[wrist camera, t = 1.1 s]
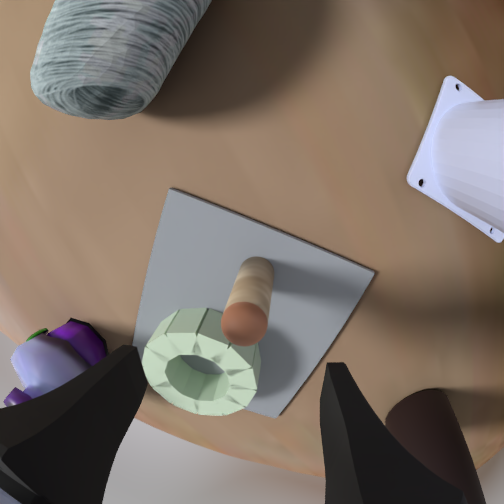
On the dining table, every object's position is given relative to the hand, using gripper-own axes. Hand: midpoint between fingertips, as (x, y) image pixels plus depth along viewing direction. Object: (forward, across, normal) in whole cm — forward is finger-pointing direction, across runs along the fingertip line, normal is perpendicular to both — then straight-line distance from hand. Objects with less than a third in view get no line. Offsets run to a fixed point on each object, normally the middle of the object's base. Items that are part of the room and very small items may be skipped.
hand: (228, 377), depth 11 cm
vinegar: (+10, -16, +15) cm, 24 cm away
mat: (+10, +2, +5) cm, 11 cm away
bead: (+10, +4, +7) cm, 12 cm away
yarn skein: (+10, +6, -16) cm, 20 cm away
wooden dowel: (+10, 0, 0) cm, 10 cm away
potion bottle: (+10, +16, +9) cm, 21 cm away
